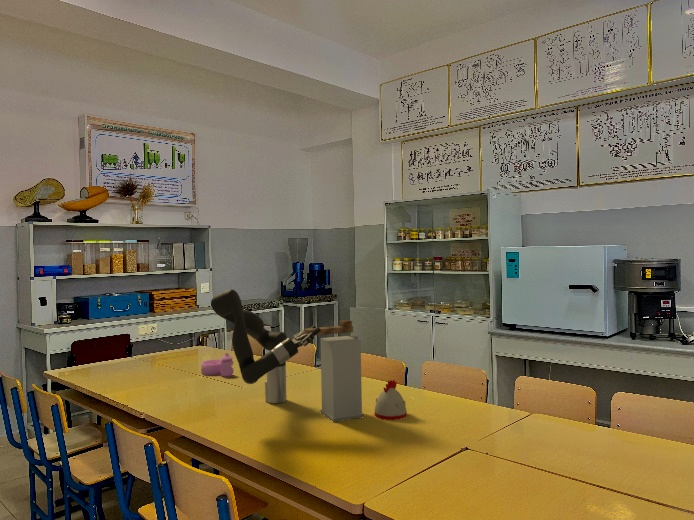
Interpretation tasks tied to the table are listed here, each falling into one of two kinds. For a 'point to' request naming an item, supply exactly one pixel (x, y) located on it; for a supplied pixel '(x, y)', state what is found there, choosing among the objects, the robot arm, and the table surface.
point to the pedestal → (341, 378)
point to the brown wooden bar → (334, 328)
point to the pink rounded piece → (218, 366)
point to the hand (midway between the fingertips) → (317, 328)
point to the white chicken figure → (390, 403)
